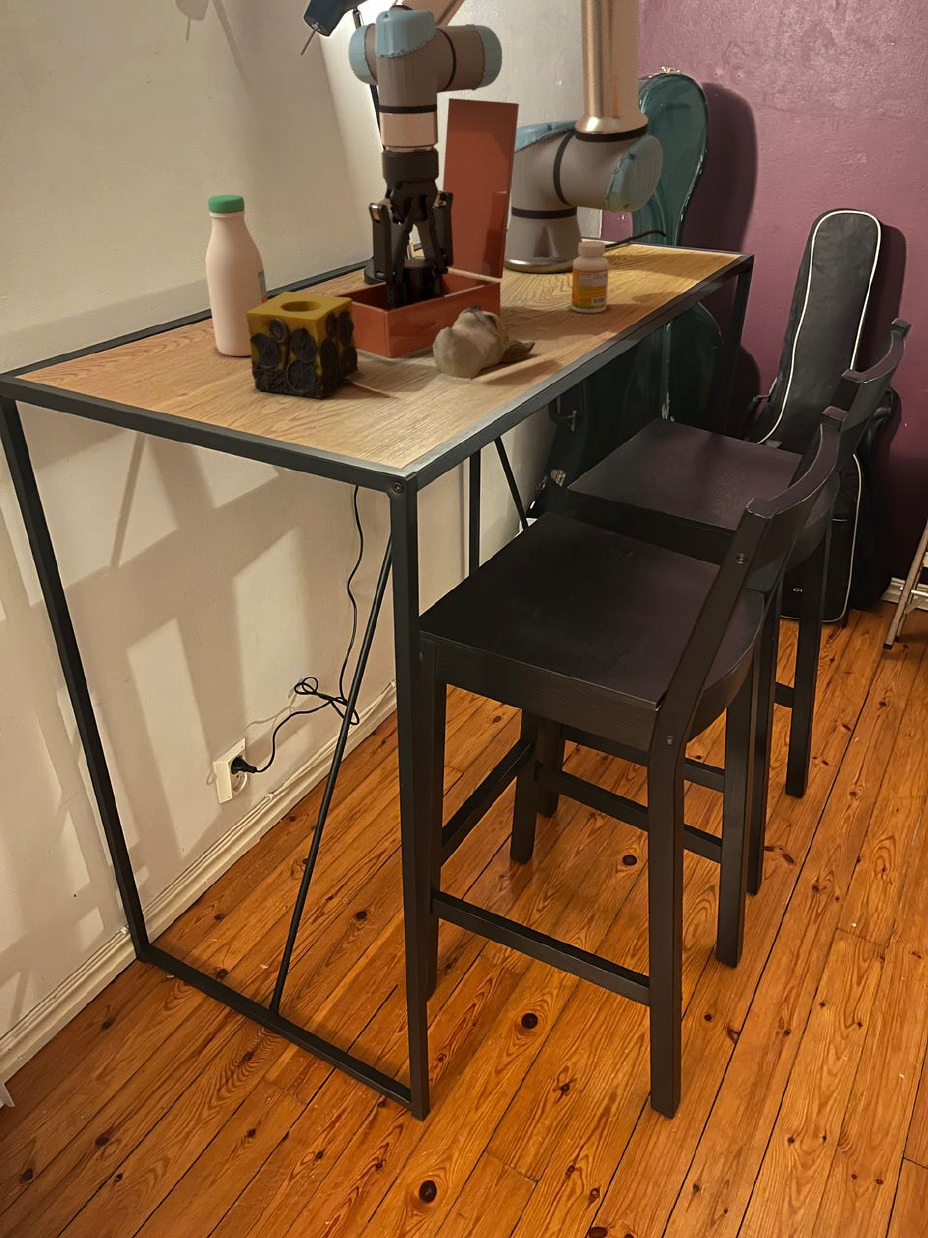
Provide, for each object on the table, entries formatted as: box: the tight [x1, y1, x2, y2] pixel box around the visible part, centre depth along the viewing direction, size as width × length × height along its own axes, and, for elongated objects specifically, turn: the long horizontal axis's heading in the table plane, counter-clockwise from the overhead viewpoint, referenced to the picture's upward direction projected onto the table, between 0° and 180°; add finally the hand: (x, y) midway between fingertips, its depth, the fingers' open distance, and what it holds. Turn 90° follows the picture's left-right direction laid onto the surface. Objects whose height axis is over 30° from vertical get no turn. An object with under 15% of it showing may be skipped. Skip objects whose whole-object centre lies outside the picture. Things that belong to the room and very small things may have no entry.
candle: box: [246, 291, 359, 399], centre depth 127 cm, size 10×10×10 cm
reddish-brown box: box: [331, 270, 501, 360], centre depth 144 cm, size 22×13×7 cm, turn 135°
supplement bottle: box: [571, 240, 610, 314], centre depth 155 cm, size 5×5×10 cm
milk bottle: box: [205, 194, 269, 357], centre depth 137 cm, size 8×8×20 cm
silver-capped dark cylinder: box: [402, 258, 440, 305], centre depth 143 cm, size 8×6×10 cm
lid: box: [442, 97, 520, 280], centre depth 144 cm, size 22×13×1 cm
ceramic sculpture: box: [432, 305, 536, 381], centre depth 131 cm, size 11×9×15 cm
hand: (416, 324), depth 145 cm, fingers closed on silver-capped dark cylinder, 6 cm apart
